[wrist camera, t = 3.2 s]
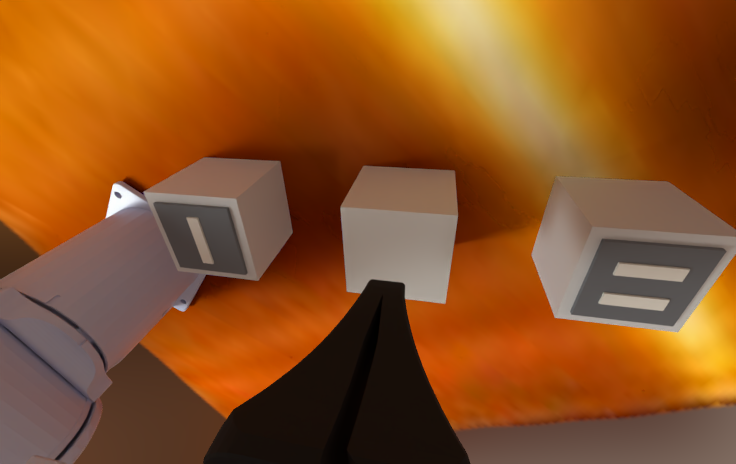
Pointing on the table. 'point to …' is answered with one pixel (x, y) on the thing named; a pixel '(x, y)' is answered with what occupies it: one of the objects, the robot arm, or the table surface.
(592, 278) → the marked block 2
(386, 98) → the table surface
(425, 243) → the plain block
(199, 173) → the marked block 1
